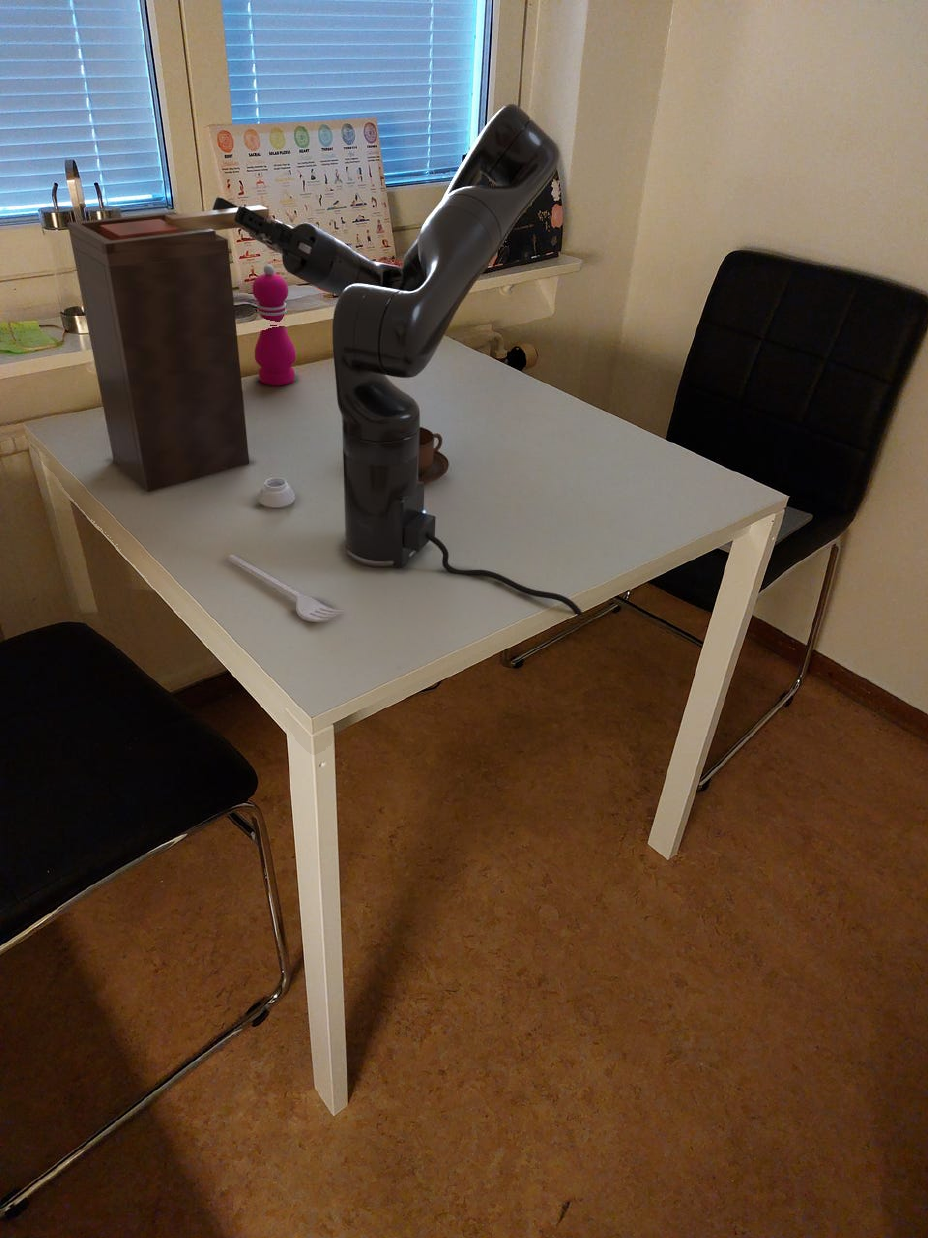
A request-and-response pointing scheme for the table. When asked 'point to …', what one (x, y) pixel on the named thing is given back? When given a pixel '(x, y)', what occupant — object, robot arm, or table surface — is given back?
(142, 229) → the spatula
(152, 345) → the tall wooden box
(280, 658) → the table surface
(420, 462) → the cup and saucer
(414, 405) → the robot arm
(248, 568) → the fork
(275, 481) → the white jar
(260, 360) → the pepper mill
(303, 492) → the table surface
